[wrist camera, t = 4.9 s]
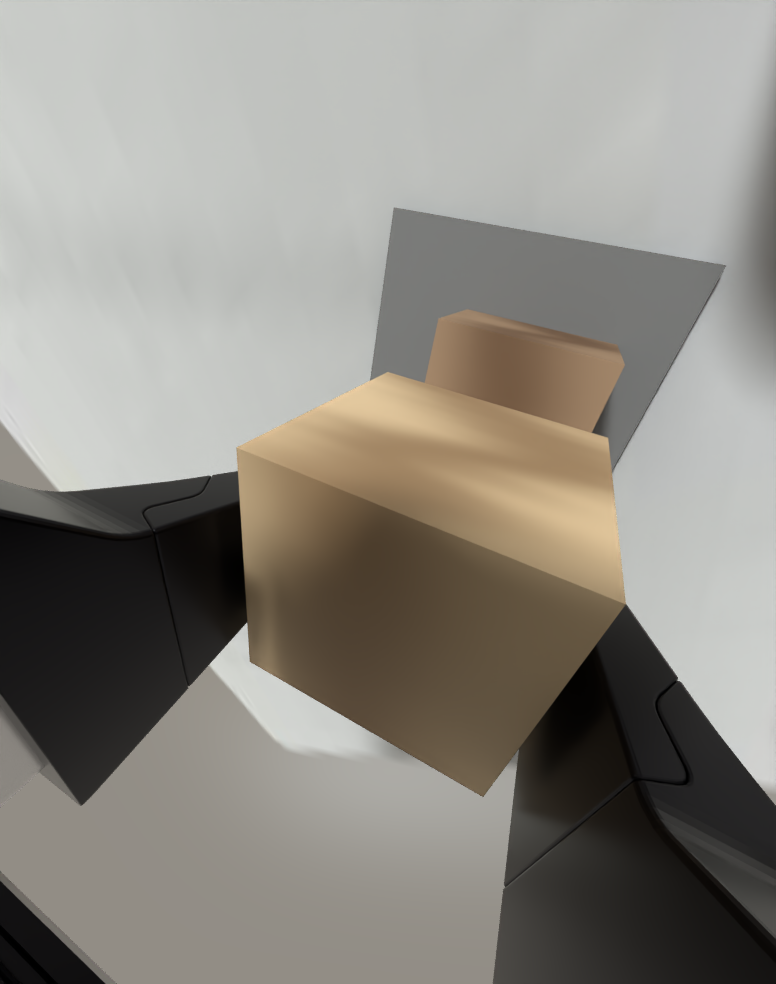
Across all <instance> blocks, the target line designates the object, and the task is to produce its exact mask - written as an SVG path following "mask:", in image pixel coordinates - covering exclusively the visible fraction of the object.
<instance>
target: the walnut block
mask: <svg viewBox="0 0 776 984" xmlns="http://www.w3.org/2000/svg"><path fill="white" fill-rule="evenodd" d="M624 366H625V364H624V361H623V358H622V356H621V353H620V351H619V348H618V345H616V344H612V343H608V342H603V341H599V340H595V339H591V338H586V337H582V336H578V335H574V334H570V333H565V332H561V331H557V330H553V329H549V328H544V327H540V326H536V325H532V324H528V323H523V322H519V321H515V320H511V319H506V318H502V317H498V316H494V315H490V314H485V313H481V312H477V311H473V310H469V309H467V310H464V311H460V312H457V313H454V314H451V315H448V316H445V317H441V318H439V319H438V323H437V328H436V333H435V337H434V342H433V346H432V351H431V356H430V360H429V365H428V370H427V374H426V379H425V383H426V384H430V385H433V386H436V387H440V388H443V389H446V390H450V391H453V392H456V393H460V394H463V395H466V396H470V397H473V398H476V399H480V400H483V401H487V402H490V403H493V404H497V405H500V406H503V407H507V408H510V409H513V410H517V411H520V412H523V413H527V414H530V415H533V416H537V417H540V418H543V419H547V420H550V421H553V422H557V423H560V424H564V425H567V426H570V427H574V428H577V429H580V430H584V431H587V432H590V433H592V431H593V429H594V427H595V425H596V423H597V421H598V419H599V417H600V415H601V413H602V411H603V409H604V407H605V404H606V402H607V400H608V398H609V396H610V394H611V392H612V390H613V388H614V386H615V384H616V382H617V380H618V378H619V376H620V374H621V372H622V370H623V368H624Z"/></svg>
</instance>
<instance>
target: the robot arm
mask: <svg viewBox="0 0 776 984" xmlns="http://www.w3.org/2000/svg"><path fill="white" fill-rule="evenodd" d="M246 623H247V607H246V591H245V575H244V559H243V543H242V527H241V511H240V495H239V479H238V471H236V472H229V473H223V474H217V475H213V476H212V477H211V476H203V477H197V478H190V479H183V480H176V481H169V482H160V483H151V484H142V485H132V486H122V487H112V488H102V489H92V490H82V491H68V492H54V491H42V490H36V489H31V488H27V487H23V486H19V485H16V484H13V483H9V482H6V481H3V480H0V807H1V806H2V805H3V804H5V803H6V802H7V801H8V800H9V799H10V798H11V797H12V796H13V795H14V794H16V793H17V792H18V791H19V790H20V789H21V788H22V787H23V786H24V785H26V784H27V783H28V782H29V781H30V780H31V779H32V778H33V777H34V776H35V775H37V774H38V773H39V772H40V773H41V774H42V775H44V776H45V777H46V778H47V779H49V781H51V782H52V783H53V784H54V785H56V786H57V787H58V788H59V789H61V790H62V791H63V792H64V793H65V794H67V795H68V796H69V797H70V798H71V799H73V800H74V801H75V802H76V803H78V804H79V805H80V806H81V805H83V804H84V803H85V802H86V801H87V800H88V799H89V798H90V797H91V796H92V795H93V794H94V793H95V792H96V791H97V790H98V788H99V787H100V786H101V785H102V784H103V783H104V782H105V781H106V779H107V778H108V777H109V776H110V775H111V774H112V773H113V772H114V770H115V769H116V768H117V767H118V766H119V765H120V764H121V763H122V762H123V761H124V759H125V758H126V757H127V756H128V755H129V754H130V753H131V752H132V751H133V749H134V748H135V747H136V746H137V745H138V744H139V743H140V742H141V740H142V739H143V738H144V737H145V736H146V735H147V734H148V733H149V732H150V730H151V729H152V728H153V727H154V726H155V725H156V724H157V723H158V722H159V720H160V719H161V718H162V717H163V716H164V715H165V714H166V713H167V711H168V710H169V709H170V708H171V707H172V706H173V705H174V704H175V703H176V701H177V700H178V699H179V698H180V697H181V696H182V695H183V694H184V692H185V691H186V690H187V689H188V686H190V685H191V684H192V683H193V682H194V681H195V680H196V679H197V678H198V676H199V675H200V674H201V673H202V672H203V671H204V670H205V668H206V667H207V666H208V665H209V664H210V663H211V662H212V661H213V660H214V659H215V657H216V656H217V655H218V654H219V653H220V652H221V651H222V650H223V649H224V647H225V646H226V645H227V644H228V643H229V642H230V641H231V640H232V638H233V637H234V636H235V635H236V634H237V633H238V632H239V631H240V630H241V628H242V627H243V626H244V625H245V624H246ZM677 680H678V677H677V676H676V674H675V673H674V671H673V670H672V668H671V667H670V666H669V664H668V663H667V661H666V660H665V658H664V657H663V656H662V654H661V653H660V651H659V650H658V649H657V647H656V646H655V644H654V643H653V641H652V640H651V639H650V637H649V636H648V634H647V633H646V631H645V630H644V629H643V627H642V626H641V624H640V623H639V621H638V620H637V619H636V617H635V616H634V614H633V613H632V611H631V610H630V609H629V607H628V606H627V604H626V605H625V606H624V607H623V609H622V610H621V612H620V613H619V614H618V616H617V617H616V618H615V620H614V621H613V622H612V624H611V625H610V626H609V628H608V629H607V630H606V632H605V633H604V634H603V636H602V637H601V639H600V640H599V641H598V643H597V644H596V645H595V647H594V648H593V649H592V651H591V652H590V653H589V655H588V656H587V657H586V659H585V660H584V661H583V663H582V664H581V666H580V667H579V668H578V670H577V671H576V672H575V674H574V675H573V676H572V678H571V679H570V680H569V682H568V683H567V684H566V686H565V687H564V688H563V690H562V691H561V693H560V694H559V695H558V697H557V698H556V699H555V701H554V702H553V703H552V705H551V706H550V707H549V709H548V710H547V711H546V713H545V714H544V715H543V717H542V718H541V720H540V721H539V722H538V724H537V725H536V726H535V728H534V729H533V730H532V732H531V733H530V734H529V736H528V737H527V738H526V740H525V741H524V743H523V744H522V745H521V747H520V748H519V753H518V762H517V771H516V780H515V789H514V799H513V808H512V817H511V826H510V835H509V844H508V854H507V862H506V871H505V881H504V886H505V888H504V889H503V897H502V905H501V914H500V924H499V932H498V942H497V950H496V960H495V969H494V978H493V984H776V805H775V804H774V803H773V802H772V800H771V799H770V798H769V797H768V796H767V794H766V793H765V792H764V791H763V789H762V788H761V787H760V786H759V784H758V783H757V782H756V781H755V779H754V778H753V777H752V776H751V774H750V773H749V772H748V771H747V769H746V768H745V767H744V766H743V764H742V763H741V762H740V761H739V759H738V758H737V757H736V755H735V754H734V753H733V752H732V750H731V749H730V748H729V746H728V745H727V744H726V743H725V741H724V740H723V739H722V738H721V736H720V735H719V734H718V732H717V731H716V730H715V728H714V727H713V726H712V724H711V723H710V721H709V720H708V719H707V717H706V716H705V715H704V713H703V712H702V711H701V709H700V708H699V706H698V705H697V704H696V702H695V701H694V699H693V698H692V697H691V695H690V694H689V692H688V691H687V690H686V688H685V687H684V685H683V684H682V683H681V682H680V681H677ZM0 984H117V983H115V982H114V981H113V980H112V979H111V978H110V977H109V976H108V975H107V974H106V973H105V972H104V971H103V970H102V969H101V968H100V967H99V966H98V965H97V964H96V963H95V962H94V961H93V960H92V959H91V958H90V957H88V955H86V954H85V953H84V952H83V951H82V950H81V949H80V948H79V947H78V946H77V945H76V944H75V943H74V942H73V941H72V940H71V939H70V938H69V937H68V936H67V935H66V934H65V933H64V932H63V931H62V930H61V929H60V928H58V927H57V926H56V925H55V924H54V923H53V922H52V921H51V920H50V919H49V918H48V917H47V916H46V915H45V914H44V913H43V912H42V911H41V910H40V909H39V908H38V907H37V906H36V905H35V904H34V903H33V902H31V900H29V899H28V898H27V897H26V896H25V895H24V894H23V893H22V892H21V891H20V890H19V889H18V888H17V887H16V886H15V885H14V884H13V883H12V882H11V881H10V880H9V879H8V878H7V877H5V875H4V874H2V873H1V872H0Z"/></svg>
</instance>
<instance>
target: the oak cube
mask: <svg viewBox="0 0 776 984" xmlns="http://www.w3.org/2000/svg"><path fill="white" fill-rule="evenodd" d="M237 463H238V479H239V495H240V511H241V527H242V543H243V559H244V575H245V591H246V607H247V623H248V639H249V655H250V662H251V663H253V664H255V665H256V666H258V667H260V668H262V669H263V670H265V671H267V672H269V673H270V674H272V675H274V676H275V677H277V678H279V679H281V680H282V681H284V682H286V683H287V684H289V685H291V686H293V687H294V688H296V689H298V690H300V691H301V692H303V693H305V694H306V695H308V696H310V697H312V698H313V699H315V700H317V701H318V702H320V703H322V704H324V705H325V706H327V707H329V708H331V709H332V710H334V711H336V712H337V713H339V714H341V715H343V716H344V717H346V718H348V719H349V720H351V721H353V722H355V723H356V724H358V725H360V726H362V727H363V728H365V729H367V730H368V731H370V732H372V733H374V734H375V735H377V736H379V737H381V738H382V739H384V740H386V741H387V742H389V743H391V744H393V745H394V746H396V747H398V748H399V749H401V750H403V751H405V752H406V753H408V754H410V755H412V756H413V757H415V758H417V759H418V760H420V761H422V762H424V763H425V764H427V765H429V766H430V767H432V768H434V769H436V770H437V771H439V772H441V773H443V774H444V775H446V776H448V777H449V778H451V779H453V780H455V781H456V782H458V783H460V784H461V785H463V786H465V787H467V788H469V789H470V790H472V791H474V792H475V793H477V794H479V795H480V796H483V797H484V795H485V794H486V792H487V791H488V790H489V788H490V787H491V786H492V784H493V783H494V782H495V780H496V779H497V778H498V776H499V775H500V774H501V772H502V771H503V770H504V768H505V767H506V765H507V764H508V763H509V761H510V760H511V759H512V757H513V756H514V755H515V753H516V752H517V751H518V749H519V748H520V747H521V745H522V744H523V743H524V741H525V740H526V738H527V737H528V736H529V734H530V733H531V732H532V730H533V729H534V728H535V726H536V725H537V724H538V722H539V721H540V720H541V718H542V717H543V715H544V714H545V713H546V711H547V710H548V709H549V707H550V706H551V705H552V703H553V702H554V701H555V699H556V698H557V697H558V695H559V694H560V693H561V691H562V690H563V688H564V687H565V686H566V684H567V683H568V682H569V680H570V679H571V678H572V676H573V675H574V674H575V672H576V671H577V670H578V668H579V667H580V666H581V664H582V663H583V661H584V660H585V659H586V657H587V656H588V655H589V653H590V652H591V651H592V649H593V648H594V647H595V645H596V644H597V643H598V641H599V640H600V639H601V637H602V636H603V634H604V633H605V632H606V630H607V629H608V628H609V626H610V625H611V624H612V622H613V621H614V620H615V618H616V617H617V616H618V614H619V613H620V612H621V610H622V609H623V607H624V606H625V605H626V602H625V592H624V583H623V573H622V564H621V555H620V545H619V536H618V526H617V517H616V507H615V498H614V489H613V479H612V470H611V460H610V451H609V442H608V438H607V437H604V436H600V435H597V434H594V433H590V432H587V431H584V430H580V429H577V428H574V427H570V426H567V425H564V424H560V423H557V422H553V421H550V420H547V419H543V418H540V417H537V416H533V415H530V414H527V413H523V412H520V411H517V410H513V409H510V408H507V407H503V406H500V405H497V404H493V403H490V402H487V401H483V400H480V399H476V398H473V397H470V396H466V395H463V394H460V393H456V392H453V391H450V390H446V389H443V388H440V387H436V386H433V385H430V384H426V383H423V382H420V381H416V380H413V379H409V378H406V377H403V376H399V375H396V374H393V373H389V372H387V373H385V374H383V375H381V376H379V377H377V378H375V379H373V380H371V381H369V382H367V383H365V384H363V385H361V386H359V387H357V388H355V389H353V390H351V391H349V392H347V393H345V394H343V395H341V396H339V397H337V398H335V399H333V400H331V401H329V402H327V403H325V404H323V405H321V406H319V407H317V408H315V409H313V410H311V411H309V412H307V413H305V414H303V415H301V416H299V417H297V418H295V419H293V420H291V421H289V422H287V423H285V424H283V425H281V426H279V427H277V428H275V429H273V430H271V431H269V432H267V433H265V434H263V435H261V436H259V437H257V438H255V439H253V440H251V441H249V442H247V443H245V444H243V445H241V446H239V447H237Z"/></svg>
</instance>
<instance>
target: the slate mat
mask: <svg viewBox="0 0 776 984" xmlns="http://www.w3.org/2000/svg"><path fill="white" fill-rule="evenodd" d="M725 267H726V265H720V264H714V263H709V262H703V261H697V260H691V259H686V258H680V257H674V256H668V255H663V254H657V253H651V252H646V251H640V250H634V249H628V248H623V247H617V246H611V245H605V244H600V243H594V242H588V241H582V240H577V239H571V238H565V237H559V236H554V235H548V234H542V233H537V232H531V231H525V230H519V229H514V228H508V227H502V226H496V225H491V224H485V223H479V222H473V221H468V220H462V219H456V218H451V217H445V216H439V215H433V214H428V213H422V212H416V211H410V210H405V209H399V208H394V211H393V218H392V225H391V232H390V240H389V247H388V254H387V262H386V269H385V276H384V284H383V291H382V298H381V305H380V313H379V320H378V327H377V335H376V342H375V349H374V357H373V364H372V371H371V378H370V381H371V380H373V379H375V378H377V377H379V376H381V375H383V374H385V373H387V372H389V373H393V374H396V375H399V376H403V377H406V378H409V379H413V380H416V381H420V382H423V383H425V379H426V374H427V370H428V365H429V360H430V356H431V351H432V346H433V342H434V337H435V333H436V328H437V323H438V319H439V318H441V317H445V316H448V315H451V314H454V313H457V312H460V311H464V310H467V309H469V310H473V311H477V312H481V313H485V314H490V315H494V316H498V317H502V318H506V319H511V320H515V321H519V322H523V323H528V324H532V325H536V326H540V327H544V328H549V329H553V330H557V331H561V332H565V333H570V334H574V335H578V336H582V337H586V338H591V339H595V340H599V341H603V342H608V343H612V344H616V345H618V348H619V351H620V353H621V356H622V358H623V361H624V364H625V366H624V368H623V370H622V372H621V374H620V376H619V378H618V380H617V382H616V384H615V386H614V388H613V390H612V392H611V394H610V396H609V398H608V400H607V402H606V404H605V407H604V409H603V411H602V413H601V415H600V417H599V419H598V421H597V423H596V425H595V427H594V429H593V431H592V433H594V434H597V435H600V436H604V437H607V438H608V442H609V451H610V460H611V470H613V468H614V466H615V465H616V463H617V461H618V459H619V457H620V456H621V454H622V452H623V450H624V448H625V447H626V445H627V443H628V441H629V439H630V438H631V436H632V434H633V432H634V430H635V429H636V427H637V425H638V423H639V421H640V420H641V418H642V416H643V414H644V412H645V411H646V409H647V407H648V405H649V403H650V402H651V400H652V398H653V396H654V394H655V393H656V391H657V389H658V387H659V385H660V384H661V382H662V380H663V378H664V376H665V375H666V373H667V371H668V369H669V367H670V366H671V364H672V362H673V360H674V358H675V357H676V355H677V353H678V351H679V350H680V348H681V346H682V344H683V342H684V341H685V339H686V337H687V335H688V333H689V332H690V330H691V328H692V326H693V324H694V323H695V321H696V319H697V317H698V315H699V314H700V312H701V310H702V308H703V306H704V305H705V303H706V301H707V299H708V297H709V296H710V294H711V292H712V290H713V288H714V287H715V285H716V283H717V281H718V279H719V278H720V276H721V274H722V272H723V270H724V269H725Z"/></svg>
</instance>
